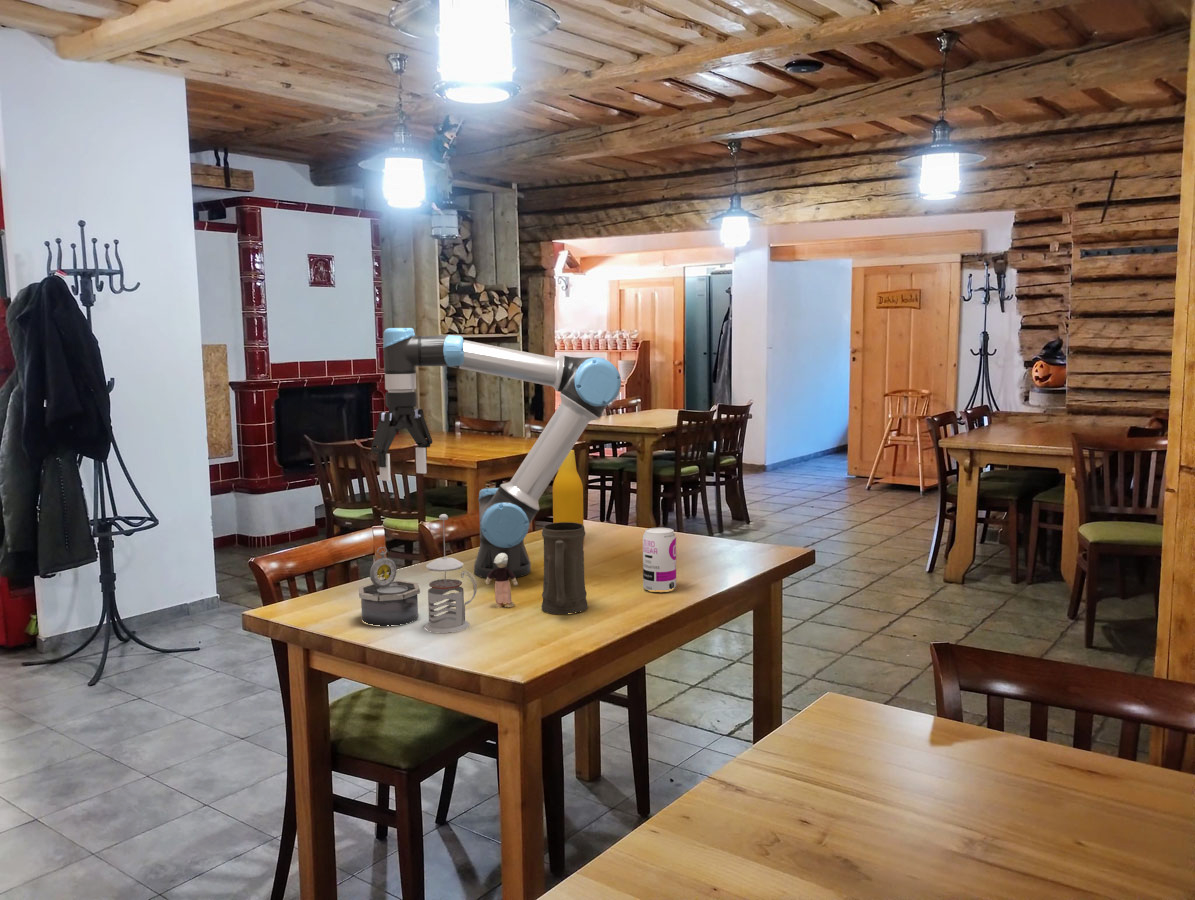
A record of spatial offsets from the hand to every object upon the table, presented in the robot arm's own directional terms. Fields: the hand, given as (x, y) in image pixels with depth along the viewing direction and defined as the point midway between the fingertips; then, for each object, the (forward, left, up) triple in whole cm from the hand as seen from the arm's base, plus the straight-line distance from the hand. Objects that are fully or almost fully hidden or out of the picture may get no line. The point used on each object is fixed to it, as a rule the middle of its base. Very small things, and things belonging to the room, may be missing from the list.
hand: (403, 476), depth 237 cm
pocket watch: (+6, +24, -23) cm, 34 cm away
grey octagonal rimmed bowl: (+6, +24, -29) cm, 38 cm away
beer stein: (-33, +31, -29) cm, 54 cm away
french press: (-6, +34, -29) cm, 45 cm away
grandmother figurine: (-20, +22, -29) cm, 41 cm away
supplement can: (-60, +20, -29) cm, 70 cm away
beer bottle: (-51, -36, -29) cm, 69 cm away
